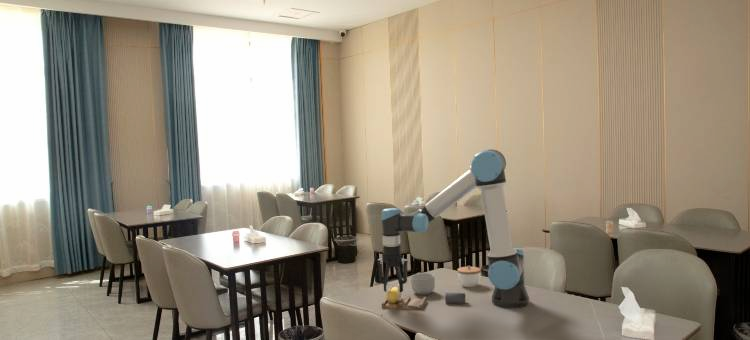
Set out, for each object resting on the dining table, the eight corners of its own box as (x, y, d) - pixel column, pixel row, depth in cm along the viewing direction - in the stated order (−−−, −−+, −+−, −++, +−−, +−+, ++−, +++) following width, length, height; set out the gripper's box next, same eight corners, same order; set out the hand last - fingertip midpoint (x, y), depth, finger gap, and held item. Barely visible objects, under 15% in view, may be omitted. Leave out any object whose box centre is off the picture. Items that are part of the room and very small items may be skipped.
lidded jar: (453, 285, 249) (452, 266, 249) (467, 281, 256) (466, 262, 256) (471, 290, 241) (471, 269, 241) (485, 284, 248) (485, 265, 248)
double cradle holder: (426, 301, 227) (426, 296, 227) (422, 309, 216) (421, 304, 216) (388, 300, 231) (387, 295, 231) (381, 308, 221) (381, 303, 221)
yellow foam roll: (398, 300, 221) (393, 290, 221) (389, 304, 222) (384, 295, 222) (402, 294, 228) (398, 285, 229) (393, 298, 230) (389, 289, 230)
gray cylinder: (465, 305, 223) (465, 294, 225) (464, 302, 219) (464, 291, 221) (446, 304, 225) (446, 294, 227) (445, 301, 221) (445, 291, 223)
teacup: (436, 296, 234) (435, 278, 234) (411, 296, 235) (411, 279, 234) (433, 287, 248) (432, 270, 248) (410, 288, 249) (409, 271, 248)
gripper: (413, 243, 225) (415, 297, 226) (374, 243, 230) (376, 295, 231) (410, 247, 218) (412, 302, 219) (369, 246, 222) (372, 301, 224)
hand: (393, 299), depth 225 cm, fingers closed on yellow foam roll, 4 cm apart
